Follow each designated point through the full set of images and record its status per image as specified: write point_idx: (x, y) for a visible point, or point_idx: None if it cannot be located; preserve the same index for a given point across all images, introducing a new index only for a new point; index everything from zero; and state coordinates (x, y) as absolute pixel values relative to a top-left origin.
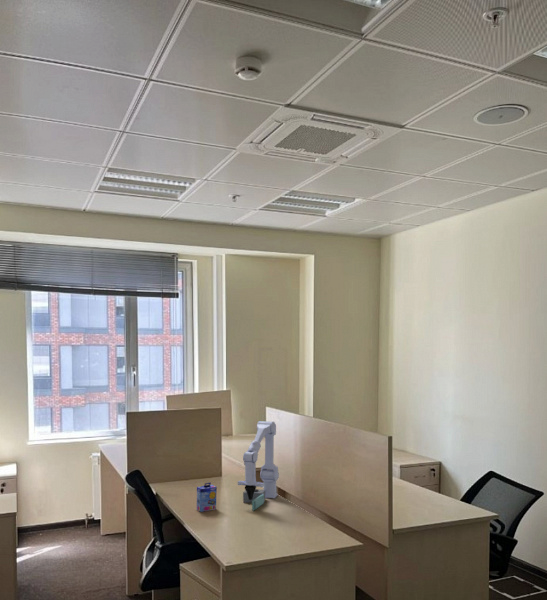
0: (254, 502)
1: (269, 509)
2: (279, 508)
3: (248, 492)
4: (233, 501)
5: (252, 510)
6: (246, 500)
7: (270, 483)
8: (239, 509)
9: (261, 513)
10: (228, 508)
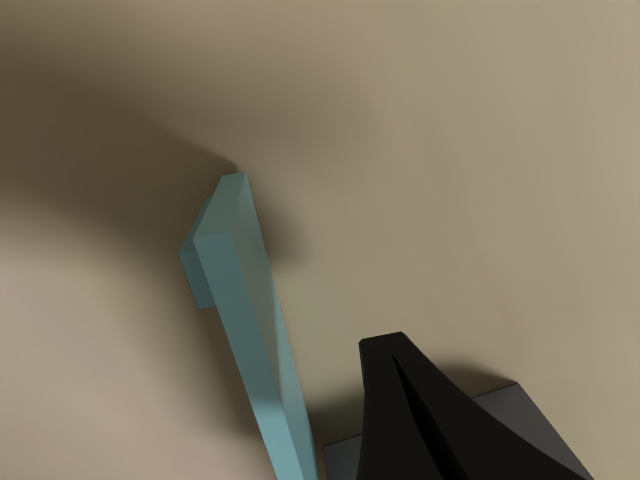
0: (192, 244)
1: (98, 341)
2: (32, 420)
3: (465, 447)
4: (625, 363)
5: (241, 172)
6: (497, 413)
7: None
8: (459, 146)
9: (26, 130)
10: (628, 110)
